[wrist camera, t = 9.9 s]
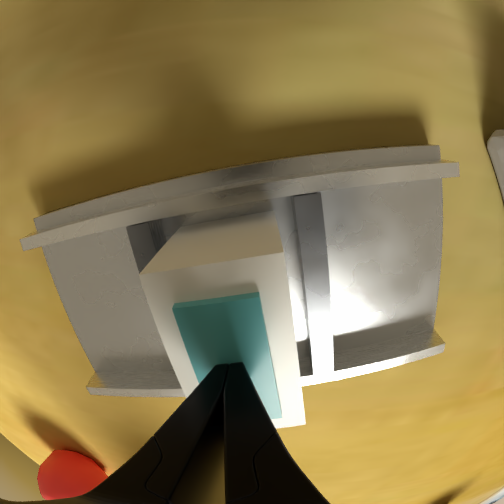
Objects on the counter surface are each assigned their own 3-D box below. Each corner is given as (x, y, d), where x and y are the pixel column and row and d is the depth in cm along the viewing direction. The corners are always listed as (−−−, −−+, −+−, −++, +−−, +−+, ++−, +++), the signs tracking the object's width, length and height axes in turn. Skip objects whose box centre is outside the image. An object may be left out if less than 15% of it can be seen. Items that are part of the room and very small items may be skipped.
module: (216, 357, 15) (202, 438, 10) (180, 226, 13) (134, 279, 8) (294, 347, 15) (306, 430, 10) (274, 210, 12) (284, 256, 7)
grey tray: (109, 376, 17) (95, 401, 15) (44, 214, 14) (16, 226, 11) (423, 336, 16) (441, 361, 13) (428, 144, 12) (457, 147, 10)
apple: (41, 430, 21) (11, 484, 14) (104, 453, 21) (79, 518, 14) (67, 468, 24) (47, 516, 16) (125, 487, 24) (109, 541, 16)
